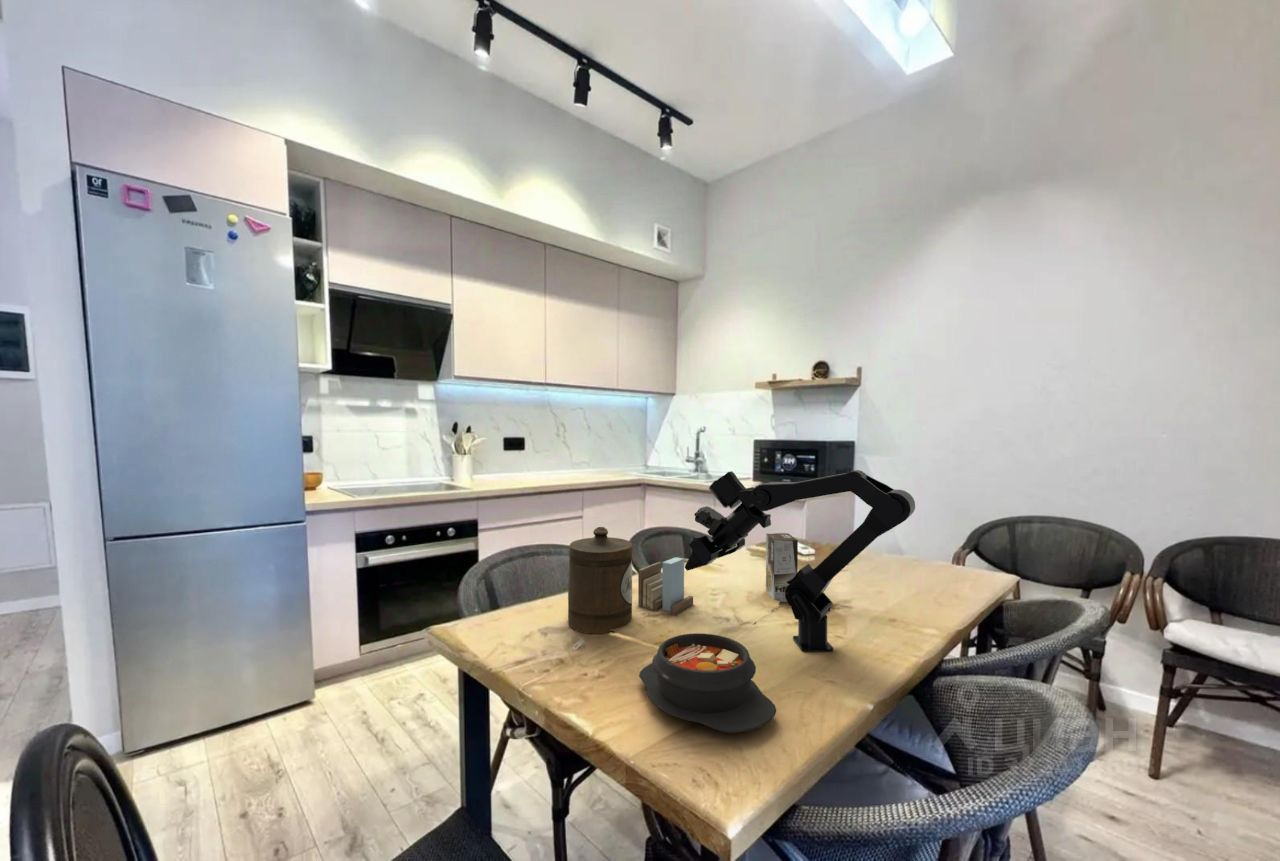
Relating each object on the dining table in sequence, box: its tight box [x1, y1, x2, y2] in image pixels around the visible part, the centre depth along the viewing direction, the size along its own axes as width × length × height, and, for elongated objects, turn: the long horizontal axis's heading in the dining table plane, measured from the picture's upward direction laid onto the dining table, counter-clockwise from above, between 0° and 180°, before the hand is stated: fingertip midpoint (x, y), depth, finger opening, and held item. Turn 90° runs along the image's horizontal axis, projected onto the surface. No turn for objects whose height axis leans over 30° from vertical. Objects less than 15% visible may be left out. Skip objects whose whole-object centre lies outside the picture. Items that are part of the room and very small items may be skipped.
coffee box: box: [765, 532, 799, 603], centre depth 135 cm, size 9×6×16 cm
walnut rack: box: [637, 561, 695, 617], centre depth 126 cm, size 11×9×10 cm
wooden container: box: [567, 526, 633, 635], centre depth 118 cm, size 15×15×22 cm
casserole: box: [638, 632, 777, 734], centre depth 84 cm, size 25×19×8 cm
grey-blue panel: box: [662, 556, 685, 611], centre depth 125 cm, size 2×6×12 cm, turn 144°
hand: (695, 564), depth 121 cm, fingers open, 9 cm apart
